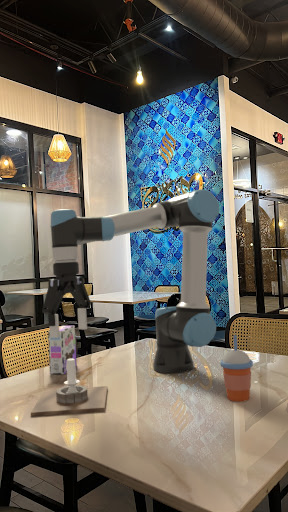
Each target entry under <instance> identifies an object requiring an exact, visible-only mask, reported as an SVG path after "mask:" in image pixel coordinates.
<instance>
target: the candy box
mask: <svg viewBox="0 0 288 512" xmlns="http://www.w3.org/2000/svg"><path fill="white" fill-rule="evenodd" d="M47 337H48V339H47V340H48V341H47V342H48V359H49V360H48V361H49V362H48V363H49V375H65V374H67V370H66V365H67V363H66V362H67V359H70V358H71V359H75V367H76V366H78V365H77V364H78V363H77V362H78V360H77V344H76V343H77V342H76V326H75V325H61V326H59V338H52V337H50V330H48V331H47Z"/></svg>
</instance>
